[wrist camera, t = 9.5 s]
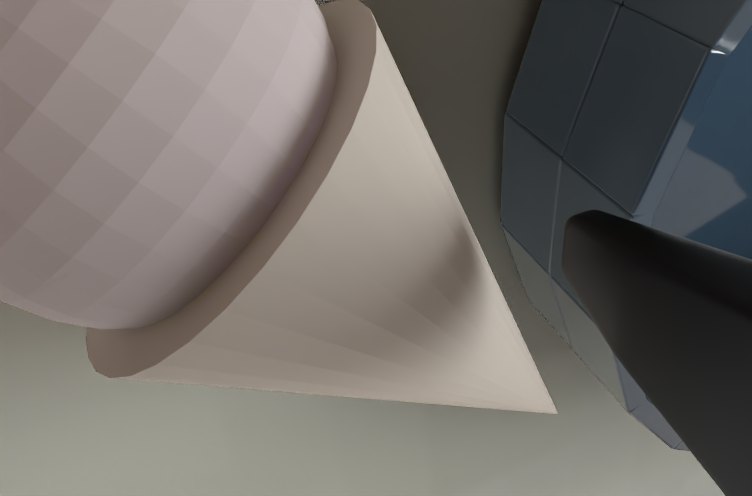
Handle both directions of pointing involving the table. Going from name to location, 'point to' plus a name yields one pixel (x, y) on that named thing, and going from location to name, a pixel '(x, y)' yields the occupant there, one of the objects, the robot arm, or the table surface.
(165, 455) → the table surface
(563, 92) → the bowl
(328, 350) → the ice cream cone
